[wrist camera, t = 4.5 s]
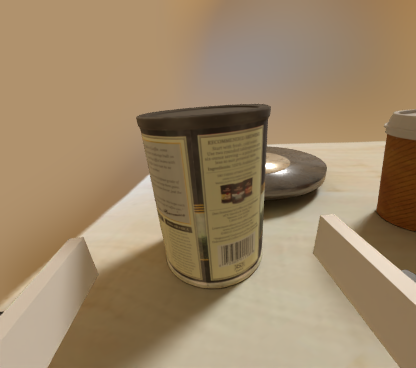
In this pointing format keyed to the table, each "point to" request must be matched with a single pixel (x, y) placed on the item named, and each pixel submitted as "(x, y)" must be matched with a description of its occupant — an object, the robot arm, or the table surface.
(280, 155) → the turntable platter
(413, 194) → the disposable coffee cup
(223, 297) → the table surface
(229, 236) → the coffee can
